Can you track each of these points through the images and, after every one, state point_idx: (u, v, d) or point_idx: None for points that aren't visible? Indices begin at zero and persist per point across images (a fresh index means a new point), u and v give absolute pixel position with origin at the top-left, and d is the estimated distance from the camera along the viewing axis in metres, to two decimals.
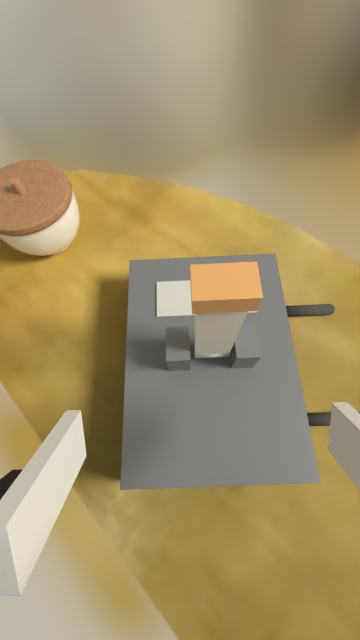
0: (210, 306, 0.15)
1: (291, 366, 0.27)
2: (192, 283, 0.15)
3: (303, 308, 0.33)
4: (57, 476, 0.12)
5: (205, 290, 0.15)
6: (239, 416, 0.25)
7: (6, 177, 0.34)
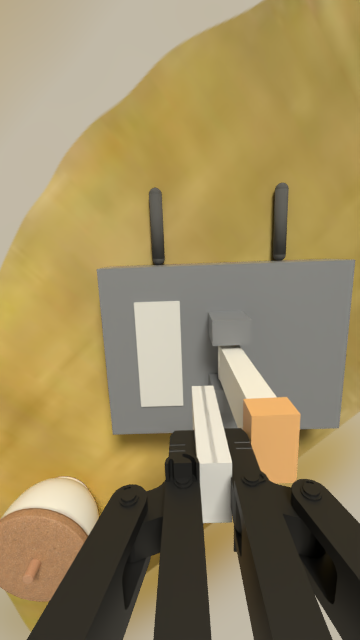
0: None
1: (243, 270, 0.25)
2: (274, 482, 0.14)
3: (156, 229, 0.28)
4: None
5: (284, 470, 0.14)
6: (289, 328, 0.26)
7: (15, 580, 0.29)
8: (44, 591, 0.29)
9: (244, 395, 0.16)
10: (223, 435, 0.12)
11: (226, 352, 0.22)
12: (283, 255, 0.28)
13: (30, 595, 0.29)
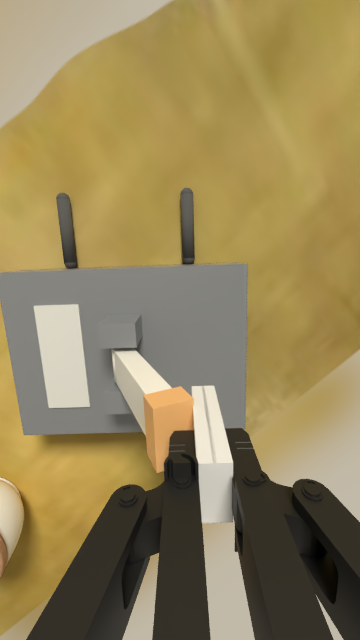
0: None
1: (139, 274, 0.25)
2: None
3: (65, 233, 0.28)
4: None
5: None
6: (189, 330, 0.26)
7: None
8: None
9: (143, 391, 0.16)
10: (224, 435, 0.12)
11: (120, 354, 0.23)
12: (191, 259, 0.29)
13: None
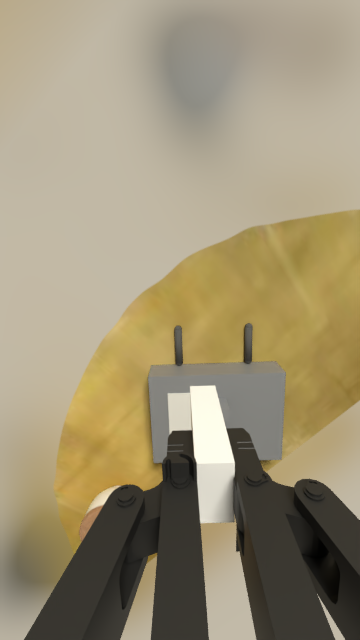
0: None
1: (226, 377, 0.46)
2: None
3: (178, 348, 0.49)
4: None
5: None
6: (252, 406, 0.47)
7: None
8: None
9: None
10: (225, 435, 0.12)
11: None
12: (250, 361, 0.50)
13: None
